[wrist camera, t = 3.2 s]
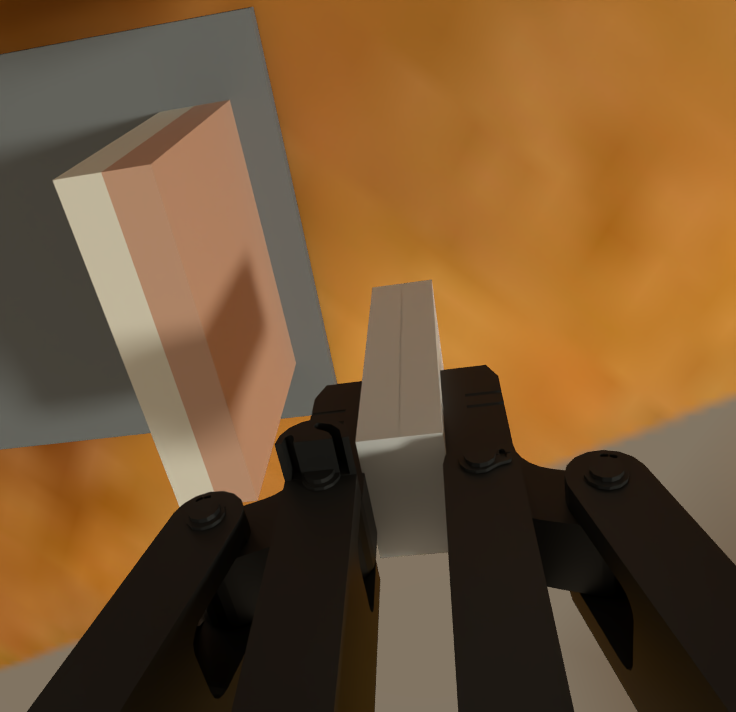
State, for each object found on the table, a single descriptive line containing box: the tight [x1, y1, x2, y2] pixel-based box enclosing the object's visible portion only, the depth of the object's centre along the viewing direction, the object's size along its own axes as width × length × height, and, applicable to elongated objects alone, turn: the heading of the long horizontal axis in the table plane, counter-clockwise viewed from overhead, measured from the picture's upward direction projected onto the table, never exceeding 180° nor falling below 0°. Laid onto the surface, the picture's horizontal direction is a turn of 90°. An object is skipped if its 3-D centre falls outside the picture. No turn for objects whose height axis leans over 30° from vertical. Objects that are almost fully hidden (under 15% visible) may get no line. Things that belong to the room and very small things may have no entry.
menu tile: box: [53, 100, 296, 506], centre depth 22 cm, size 10×2×8 cm, turn 10°
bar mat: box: [0, 7, 337, 449], centre depth 27 cm, size 15×18×1 cm
